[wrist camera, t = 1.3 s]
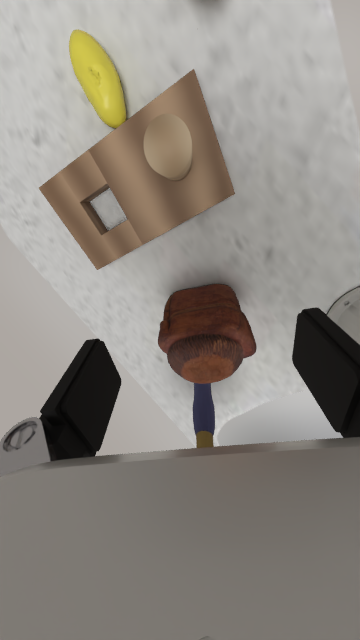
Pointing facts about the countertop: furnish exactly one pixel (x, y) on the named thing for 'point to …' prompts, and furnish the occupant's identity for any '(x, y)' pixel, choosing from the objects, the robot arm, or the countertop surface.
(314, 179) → the countertop surface
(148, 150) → the dowel
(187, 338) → the wooden figurine
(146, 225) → the board
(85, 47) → the lemon
